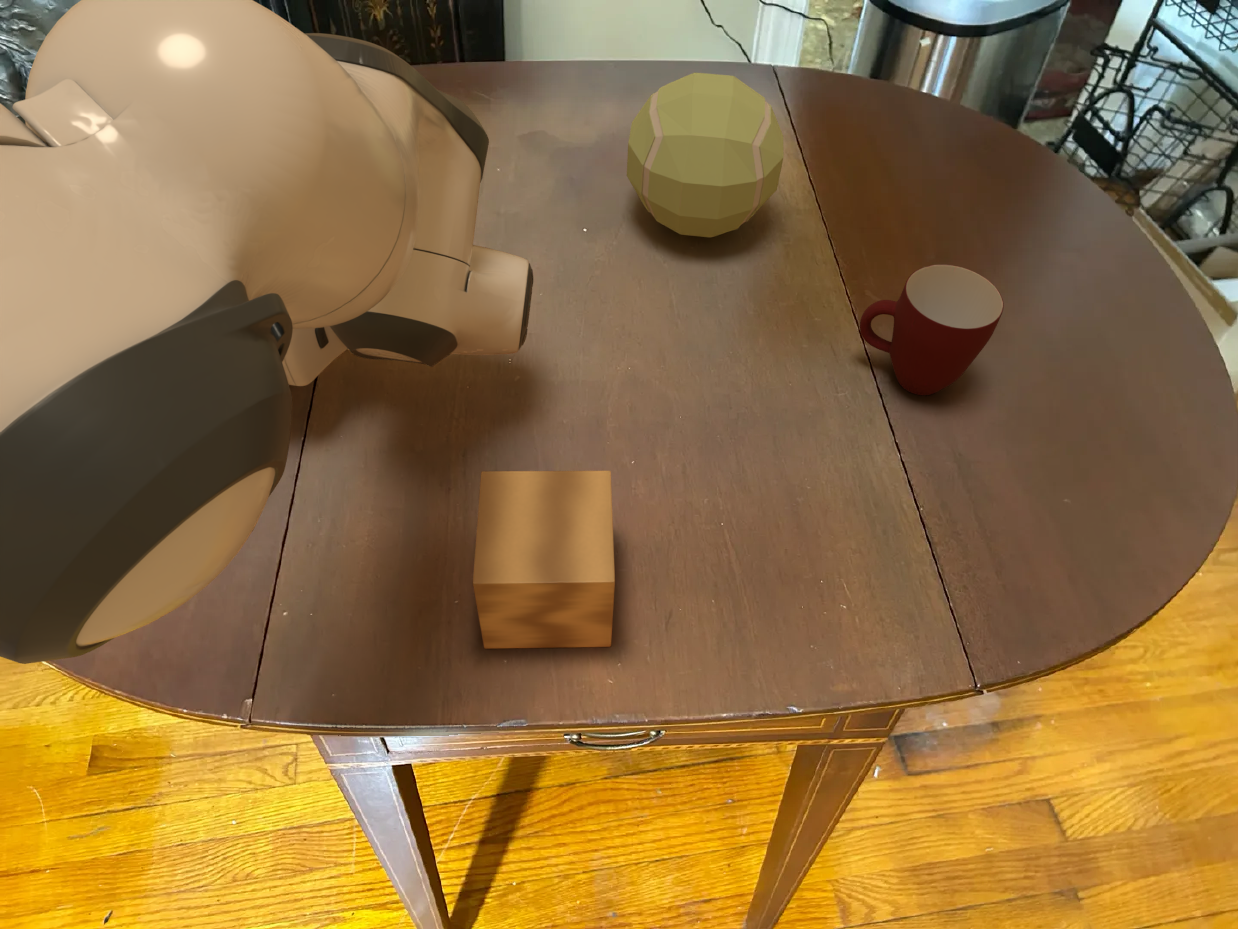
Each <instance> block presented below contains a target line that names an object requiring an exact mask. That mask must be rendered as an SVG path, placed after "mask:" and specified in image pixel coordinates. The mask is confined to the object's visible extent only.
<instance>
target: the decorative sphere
mask: <svg viewBox="0 0 1238 929" xmlns="http://www.w3.org/2000/svg"><path fill="white" fill-rule="evenodd" d="M784 157H785V156H784V134H783V132H782V129H781V127H780V124H779V122H778V119H777V116H776V114H775V112H774V109H773V107H772V105H771V104H770V103H768V101H766V97H764V96H763V95H761V94H760V93H759V92H757V91H756V90H754V89H753V88H752V87H750V86H749V85H747V84H746V83H744V81H742V80H740V79H739V78H737V77H736V76H735V75H729V74H727V75H726V74H717V73H706V72H692V73H690V74H687V75H685V76H683V77H681V78H678V79H676V80H673V81H671V82H668V83H667V84H664V85H663V86H661V87H659V88H658V90H657V91H655V92H654V93H651V95H650V96H649V97H648V98H647V100H646V102H645V103H644V104H643V105H642V107H641V108H640V110H639V111H638V112H637V114H636V116H635V117H634V118H633V120H632V121H631V124H630V132H629V136H628V142H627V160H626V163H627V164H626V177H627V180H628V181H629V182H630V184H631V186H632V188H633V190H634V191H635V193H636V194H637V196H638V198H639V199H640V201H641V204H642V205H643V206H644V208H645V209H646V211H647V212H648V213H650V214H651V215H652V217H653V218H654V220H655V221H656V222H657V223H659V224H661V225H663V226H665V227H666V228H668V229H670V230H671V231H673V232H675V233H677V234H679V235H682V236H693V237H701V238H703V237H704V238H714V237H717V236H720V235H723V234H726V233H729V232H732V231H735V230H738V229H739V228H740V227H741V226H742V225H743V224H744V223H748V221H749V220H751V218H752V217H753V216H754V215H755V214H756V213H757V212H758V211H759V209H761V207H763V205H764V204H765V203H766V202H767V201H768V200H769V199H770V198H771V197H772V195H774V194H775V193H777V191H778V186H779V182H780V177H781V173H782V172H781V171H782V167H783V163H784Z"/></svg>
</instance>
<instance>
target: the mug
mask: <svg viewBox="0 0 1238 929" xmlns="http://www.w3.org/2000/svg"><path fill="white" fill-rule="evenodd" d="M1004 304H1005V303H1004V299H1003V296H1002V294H1001V292H1000V291H999V289H998V288H997V286H995V285H994V284H993V283H992V281H990V280H989V279H988V278H986V277H985V276H983V275H982V274H980V273H978V272H976V271H974V270H972V269H969V268H966V267H963V266H958V265H955V264H954V265H953V264H942V263H941V264H940V263H939V264H930V265H926V266H923V267H920V268H918V269H916V270H914V272H912V273H911V274H910V275H909V276H908V278H907V280H906V281H905V284H904V286H903V288H902V291H901V294H900V295H899V298H898V300H891V299H880V300H877V301H875V302H872V304H871V305H869V306H868V307H866V308H865V310H864V311H863V313H862V315H861V317H860V320H859V332H860V335H861V337H862V339H863V340H864V341H865V342H866V344H868V345H870V346H871V347H873V348H875V349H877V350H880V351H882V352H884V353H888V354H889V356H890V361H891V365H892V369H893V371H894V374H895V377H896V380H897V382H898V384H899V385H900V386H901V388H903V389H904V390H905V391H907V392H908V393H911V394H913V395H917V396H930V395H933V394H936V393H938V392H940V391H942V390H944V389H945V388H947V387H949V386H950V385H952V384H954V383H955V382H956V381H958V380H959V379H960V378H961V377H962V375H964V373H965V372H966V371H967V369H968V368H969V367H970V366H971V364H972V363H973V362H974V360H976V358H977V357H978V356H979V354H981V352H982V350H983V349H984V348H985V347H986V345H987V344H988V342H989V341H990V340H991V338H992V336H993V334H994V332H995V330H996V328H997V327H998V324H999V322H1000V319H1001V317H1002V315H1003V312H1004V307H1005V305H1004ZM881 315H887V316H892V317H893V329H892V335H891V336H892V337H891V340H887V339H885V338H883V337H881V336H879V335H878V334H877V333H876V332H875V331H874V330H873V328H872V321H873V320H874V319H875V318H876V317H878V316H881Z"/></svg>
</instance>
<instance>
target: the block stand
mask: <svg viewBox="0 0 1238 929" xmlns="http://www.w3.org/2000/svg"><path fill="white" fill-rule="evenodd" d="M479 482H480V483H479V495H478V496H479V497H478V507H477V508H478V510H477V523H476V536H475V546H474V548H475V549H474V561H473V574H472V586H473V592H474V598H475V605H476V610H477V615H478V622H479V626H480V632H481V638H482V644H483V648H484V649H543V648H544V649H546V648H548V649H549V648H551V649H552V648H554V649H555V648H556V649H557V648H610V647H612V635H613V618H614V602H615V589H616V588H615V587H616V586H615V585H616V574H615V573H616V572H615V548H614V545H615V544H614V518H613V517H614V516H613V494H612V493H613V490H612V471H611V470H499V471H498V470H495V471H494V470H492V471H491V470H487V471H485V470H483V471H481V472H480V480H479Z"/></svg>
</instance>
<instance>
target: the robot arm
mask: <svg viewBox="0 0 1238 929" xmlns="http://www.w3.org/2000/svg"><path fill="white" fill-rule="evenodd" d="M26 84H27V85H26V88H25V97H24V98H25V99H23V100H22V99H21V100H19V101H16V102H14V103H13V104H12V110H13V111H14V112H15V113H17V114H18V115H19V117H21V118H22V119H23V120H24V122H25V123H24V122H23V121H22V120H21V119H20V118H18V116H16V114H15V113H13V112H12V111H11V110H9V109H8V108H7V107H6V106H5V105H4V104H2V103H1V102H0V658H2V659H6V660H9V661H12V662H15V663H18V664H23V665H28V664H35V663H44V662H50V661H57V660H64V659H71V658H77V657H80V656H83V655H86V654H88V653H91V652H92V651H95V650H96V649H98V648H101V647H102V646H104V645H105V644H107V643H108V642H111V641H112V640H114V639H115V638H118V637H121V636H124V635H126V634H128V633H131V632H133V631H135V630H139V629H141V628H143V627H145V626H147V625H150V624H153V623H154V622H155V621H157V620H159V619H162V618H163V617H165V616H166V615H168V614H170V613H171V612H173V611H176V610H177V609H179V608H180V607H182V606H183V605H185V603H188V602H189V601H190V600H191V599H192V598H194V597H195V596H197V594H198V593H200V592H202V591H203V590H204V589H206V587H207V586H208V585H210V584H211V583H212V582H213V581H214V580H216V578H217V577H218V576H219V575H221V573H222V572H223V571H224V570H225V569H226V568H227V567H228V565H229V564H230V563H231V562H232V561H233V559H235V557H236V556H237V555H238V554H239V553H240V551H241V550H242V548H243V547H244V545H245V544H246V542H247V540H248V539H249V537H250V536H251V534H252V533H253V532H254V529H255V528H256V526H257V524H258V521H259V520H260V517H261V515H262V513H263V511H264V509H265V508H266V505H267V502H268V499H269V497H270V496H271V495H272V493H273V492H274V490H275V489H276V487H277V486H278V485H279V483H280V481H281V479H282V477H283V475H284V473H285V469H286V465H287V461H288V455H289V447H290V440H291V430H292V429H291V428H292V410H293V395H292V391H291V388H290V386H296V387H304V386H308V385H309V384H311V383H312V382H314V380H315V379H316V378H317V377H318V376H320V374H321V373H322V372H323V371H324V370H325V369H326V368H327V367H328V366H329V365H330V364H331V363H332V362H334V360H336V359H337V358H338V357H339V356H341V354H343V353H345V352H346V351H347V350H348V351H349V352H350V353H351V354H352V355H353V356H356V357H358V358H361V359H366V360H379V361H380V360H381V361H382V360H384V361H398V362H407V363H414V364H415V363H416V364H423V365H426V366H428V367H430V368H432V367H434V366H436V364H438V363H439V362H441V361H442V360H444V359H446V358H447V357H448V356H450V355H469V356H471V355H472V356H495V355H512V354H517V353H518V352H519V351H520V350H521V348H522V347H523V346H524V344H525V342H526V339H527V336H528V326H529V320H530V312H531V311H530V310H531V303H532V295H533V287H534V271H533V268H532V266H531V263H530V261H529V260H528V259H527V258H525V257H522V256H519V255H516V254H514V253H509V252H506V251H502V250H498V249H495V248H494V249H493V248H490V247H484V246H480V245H477V244H474V239H475V231H476V222H477V215H478V214H477V213H478V205H479V198H480V189H481V183H482V181H483V178H484V172H485V171H484V170H485V166H486V160H487V156H488V151H489V146H490V144H489V143H490V140H489V139H490V138H489V136H488V134H487V131H486V130H485V128H484V127H483V125H482V123H481V122H480V120H479V118H477V116H476V114H475V113H474V111H472V110H471V108H470V107H469V106H468V105H467V104H466V102H464V101H462V100H461V99H459V98H457V97H455V96H453V95H450V94H448V93H446V92H443V91H442V90H438V89H437V88H436V87H435V86H434V85H433V84H432V83H431V82H429V81H428V80H427V79H426V77H424V76H423V75H422V74H421V73H420V72H419V71H418V70H417V69H415V68H414V67H413V66H412V65H411V64H409V63H408V62H407V61H406V60H404V59H403V58H401V57H400V56H398V54H395V53H394V52H392V51H391V50H388V48H385V47H383V46H381V45H378V44H375V43H372V42H370V41H367V40H363V39H359V38H356V37H355V38H354V37H349V36H345V35H338V34H331V33H319V32H309V33H307V32H305V33H304V32H303V31H301V30H300V29H299V28H298V27H295V25H293V24H292V23H290V22H289V21H287V20H286V19H284V18H283V17H281V16H280V15H279V14H277V13H275V12H274V11H272V10H270V9H269V8H267V7H265V6H264V5H262V4H260V3H258V2H257V1H255V0H79V1H78V2H77V3H75V4H74V5H72V6H71V7H70V8H69V9H68V10H67V11H66V12H65V13H64V14H63V15H62V16H61V17H60V18H59V19H58V20H57V21H56V23H55V24H54V25H53V26H52V27H51V29H50V30H49V32H48V33H47V35H45V38H44V39H43V41H42V42H41V44H40V47H39V49H38V50H37V52H36V54H35V57H34V60H33V62H32V66H31V68H30V70H29V74H28V79H27V83H26Z"/></svg>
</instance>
